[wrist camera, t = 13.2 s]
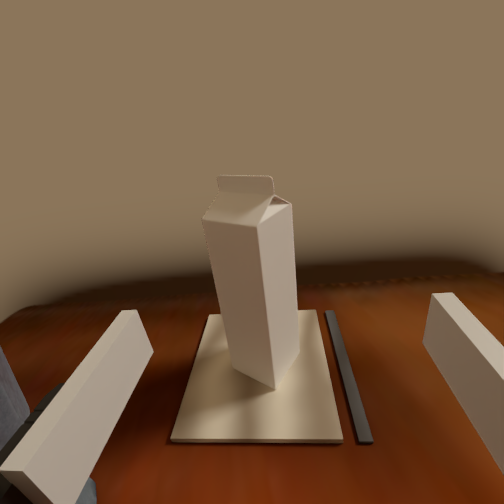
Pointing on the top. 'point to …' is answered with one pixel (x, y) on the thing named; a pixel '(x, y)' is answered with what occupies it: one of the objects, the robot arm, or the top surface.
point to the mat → (268, 394)
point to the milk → (254, 275)
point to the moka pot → (16, 412)
